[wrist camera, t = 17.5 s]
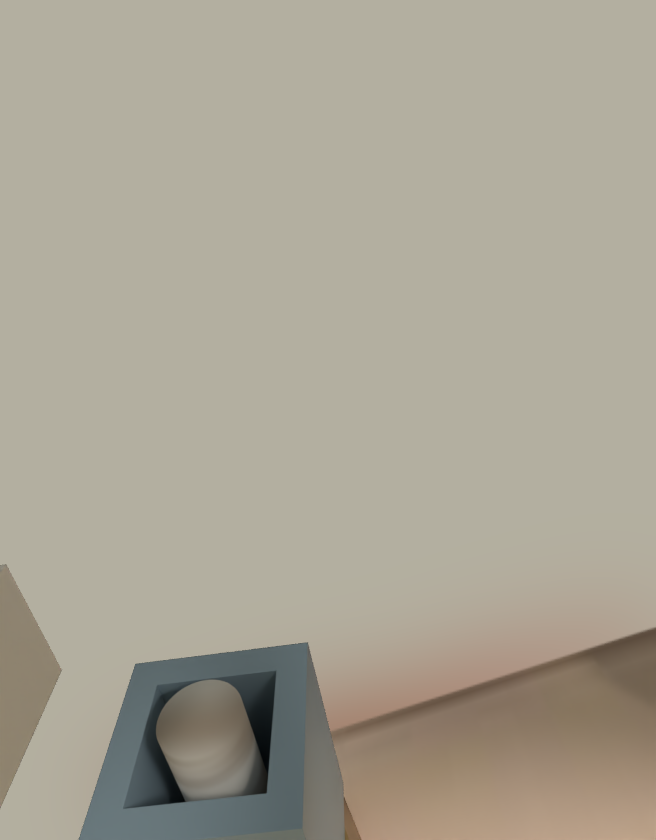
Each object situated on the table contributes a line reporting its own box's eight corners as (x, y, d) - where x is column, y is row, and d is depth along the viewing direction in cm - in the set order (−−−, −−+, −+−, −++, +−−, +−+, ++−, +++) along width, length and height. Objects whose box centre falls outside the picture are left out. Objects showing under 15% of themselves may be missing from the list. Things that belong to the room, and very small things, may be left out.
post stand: (423, 998, 31) (375, 775, 22) (204, 1125, 28) (59, 926, 20) (341, 796, 40) (287, 585, 32) (172, 877, 38) (64, 671, 29)
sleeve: (348, 972, 27) (302, 828, 22) (161, 988, 28) (74, 852, 23) (343, 782, 35) (307, 642, 30) (195, 798, 35) (135, 664, 30)
